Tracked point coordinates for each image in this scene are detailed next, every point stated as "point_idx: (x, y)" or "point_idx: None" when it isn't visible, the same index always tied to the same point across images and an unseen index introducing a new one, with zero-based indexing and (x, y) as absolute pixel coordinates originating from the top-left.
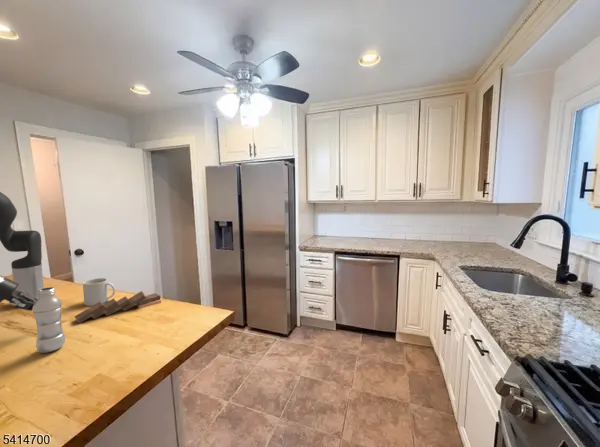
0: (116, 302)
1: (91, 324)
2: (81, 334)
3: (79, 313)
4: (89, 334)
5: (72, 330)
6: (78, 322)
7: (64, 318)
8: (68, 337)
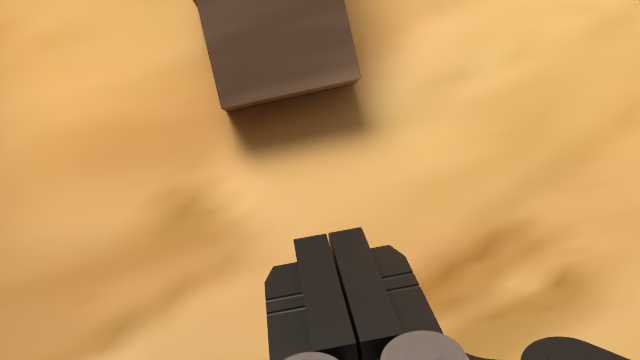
0: None
1: (423, 3)
2: (608, 51)
3: (210, 59)
4: (636, 3)
5: (479, 120)
6: (355, 81)
7: (98, 219)
8: (624, 131)
